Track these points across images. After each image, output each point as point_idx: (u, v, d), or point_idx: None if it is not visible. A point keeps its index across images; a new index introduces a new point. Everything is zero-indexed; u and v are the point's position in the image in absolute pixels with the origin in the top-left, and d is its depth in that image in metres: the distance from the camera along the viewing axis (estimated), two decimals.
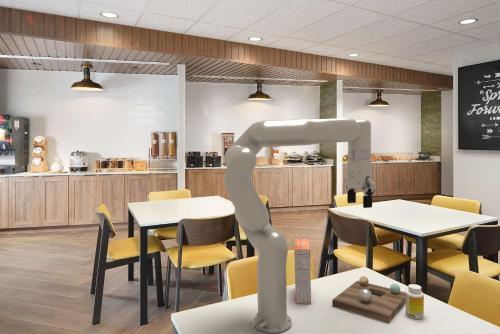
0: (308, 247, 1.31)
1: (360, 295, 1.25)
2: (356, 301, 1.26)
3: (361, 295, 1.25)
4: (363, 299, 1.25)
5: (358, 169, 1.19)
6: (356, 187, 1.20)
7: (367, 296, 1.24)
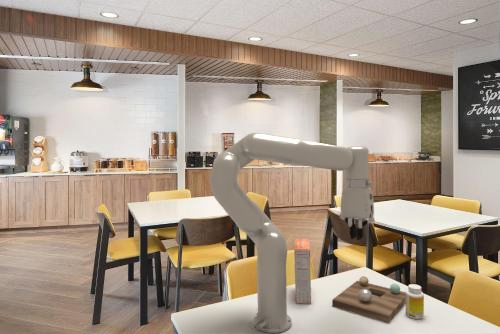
0: (308, 247, 1.31)
1: (360, 295, 1.25)
2: (356, 301, 1.26)
3: (361, 295, 1.25)
4: (363, 299, 1.25)
5: None
6: None
7: (367, 296, 1.24)
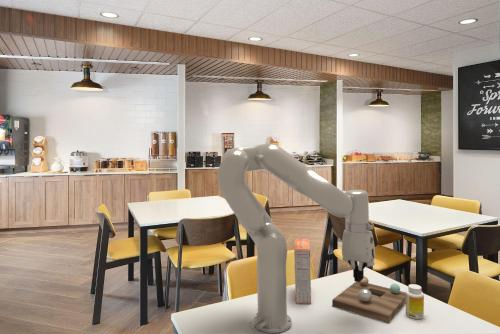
0: (308, 247, 1.31)
1: (360, 295, 1.25)
2: (356, 301, 1.26)
3: (361, 295, 1.25)
4: (363, 299, 1.25)
5: None
6: None
7: (367, 296, 1.24)
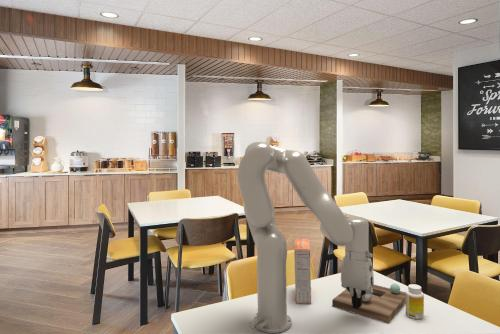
0: (308, 247, 1.31)
1: None
2: None
3: None
4: (363, 299, 1.25)
5: None
6: None
7: (367, 296, 1.24)
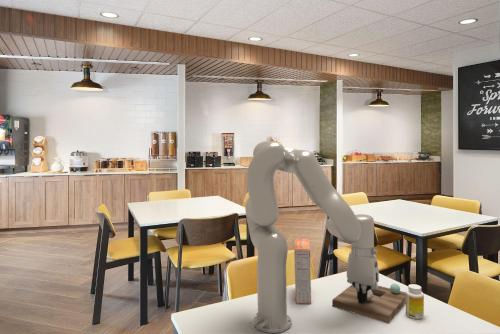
0: (308, 247, 1.31)
1: None
2: (356, 301, 1.26)
3: None
4: None
5: None
6: None
7: (369, 293, 1.25)
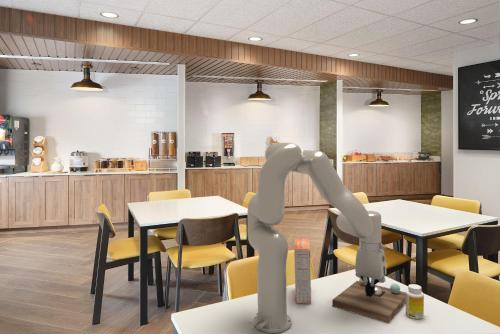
0: (308, 247, 1.31)
1: None
2: (356, 301, 1.26)
3: None
4: None
5: None
6: None
7: None
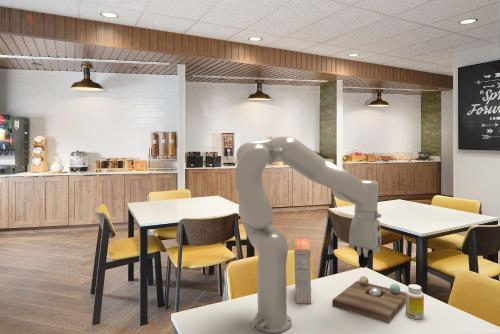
0: (308, 247, 1.31)
1: None
2: (356, 301, 1.26)
3: None
4: None
5: None
6: None
7: None
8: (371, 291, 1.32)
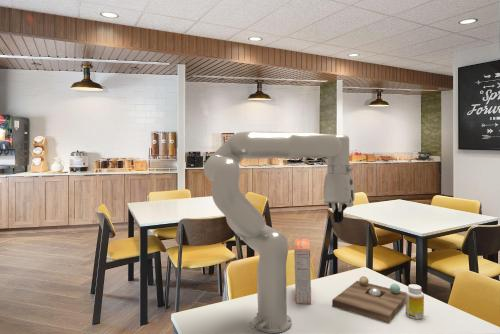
0: (308, 247, 1.31)
1: None
2: (356, 301, 1.26)
3: None
4: None
5: None
6: None
7: None
8: (371, 292, 1.32)
